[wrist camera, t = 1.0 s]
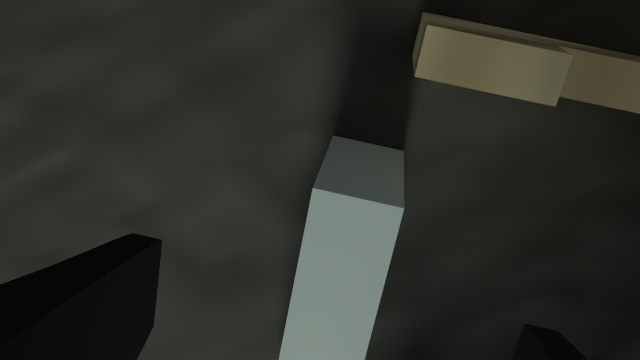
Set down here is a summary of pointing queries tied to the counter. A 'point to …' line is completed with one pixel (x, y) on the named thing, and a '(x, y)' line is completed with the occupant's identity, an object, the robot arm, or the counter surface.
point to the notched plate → (345, 252)
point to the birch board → (523, 64)
